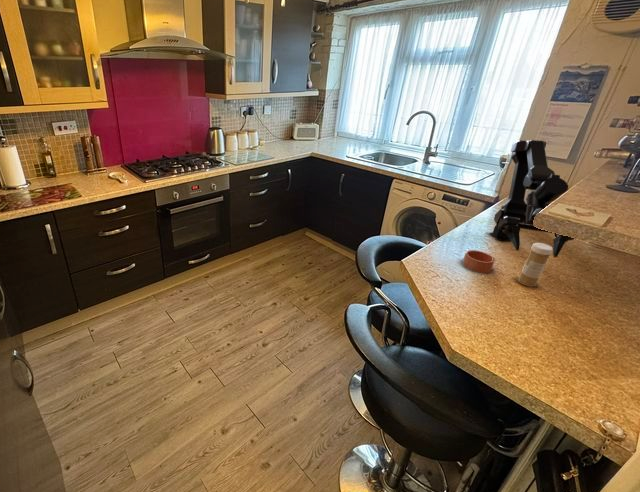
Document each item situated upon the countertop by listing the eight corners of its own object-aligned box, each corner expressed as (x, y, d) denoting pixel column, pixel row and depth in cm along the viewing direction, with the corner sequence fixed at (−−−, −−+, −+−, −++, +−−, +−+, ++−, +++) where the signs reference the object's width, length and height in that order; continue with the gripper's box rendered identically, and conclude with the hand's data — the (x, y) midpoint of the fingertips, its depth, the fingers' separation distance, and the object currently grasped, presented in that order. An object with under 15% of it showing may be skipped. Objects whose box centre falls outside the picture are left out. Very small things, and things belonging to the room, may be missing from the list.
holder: (479, 259, 113) (483, 249, 112) (496, 272, 106) (500, 262, 104) (457, 260, 113) (460, 250, 112) (473, 273, 106) (476, 262, 104)
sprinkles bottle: (519, 277, 104) (535, 240, 98) (537, 283, 101) (554, 246, 95) (515, 282, 101) (531, 245, 95) (534, 289, 98) (551, 251, 92)
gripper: (513, 192, 100) (509, 238, 95) (593, 201, 92) (593, 252, 88) (499, 207, 109) (495, 249, 105) (571, 216, 102) (570, 263, 97)
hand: (536, 253), depth 98 cm, fingers open, 9 cm apart
